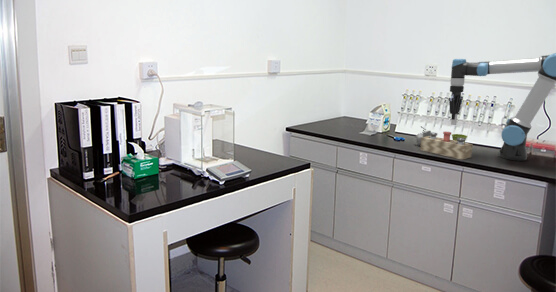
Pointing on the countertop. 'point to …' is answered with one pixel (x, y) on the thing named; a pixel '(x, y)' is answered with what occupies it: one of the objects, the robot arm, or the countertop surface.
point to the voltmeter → (422, 136)
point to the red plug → (446, 136)
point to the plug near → (460, 141)
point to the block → (446, 147)
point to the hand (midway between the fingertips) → (453, 124)
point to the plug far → (433, 135)
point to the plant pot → (458, 136)
